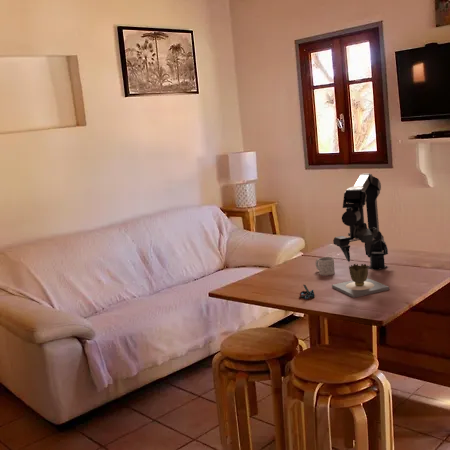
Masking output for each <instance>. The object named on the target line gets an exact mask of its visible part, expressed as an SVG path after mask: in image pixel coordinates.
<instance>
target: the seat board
mask: <svg viewBox="0 0 450 450" xmlns="http://www.w3.org/2000/svg"><path fill="white" fill-rule="evenodd" d="M331 288H332V289H334V290H337V291H339V292H341V293H343V294H344V295H346V296H349V297H350V298H353V299H354V298H359V297H362V296H367V295H368V296H369V295H372V294H377V293H380V292H385V291H389V290H390V286H388V285H386V284H384V283H380V282H378V281H376V280H373V279H370V278H368V277H367V279H366V281H364V285H363V286H356V285H355V282H354V281H353V280H352V279H351V280H349V281H343V282H338V283H334V284H331Z"/></svg>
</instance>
